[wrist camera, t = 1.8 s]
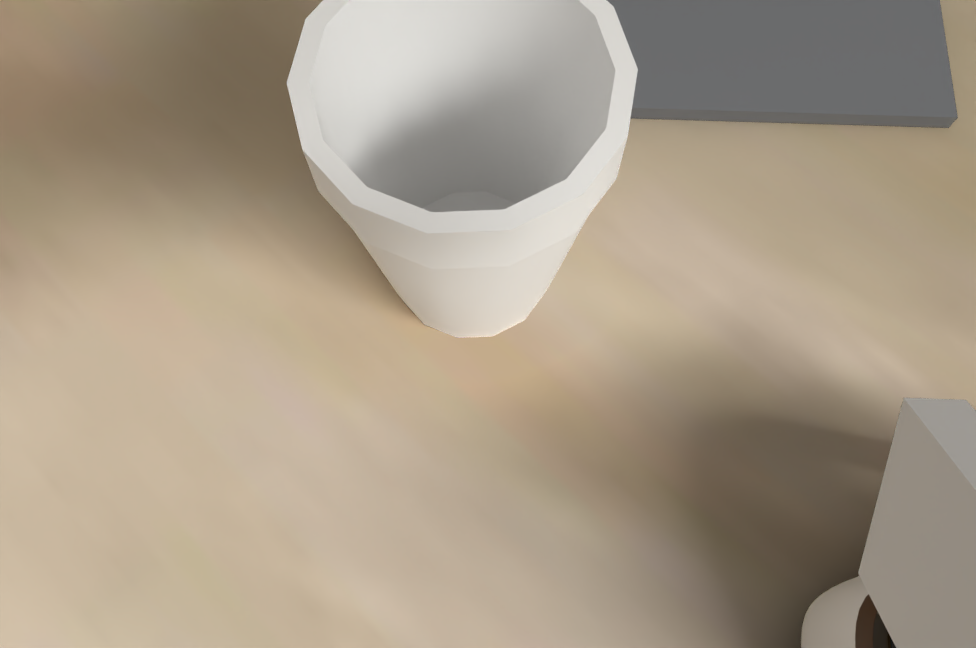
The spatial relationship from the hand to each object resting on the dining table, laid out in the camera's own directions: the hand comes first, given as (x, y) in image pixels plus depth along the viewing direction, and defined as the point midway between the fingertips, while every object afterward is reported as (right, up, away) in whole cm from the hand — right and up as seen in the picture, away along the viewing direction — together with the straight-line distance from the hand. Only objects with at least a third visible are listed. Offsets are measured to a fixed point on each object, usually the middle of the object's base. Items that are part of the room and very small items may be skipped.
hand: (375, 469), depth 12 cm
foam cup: (+1, +4, +26) cm, 26 cm away
